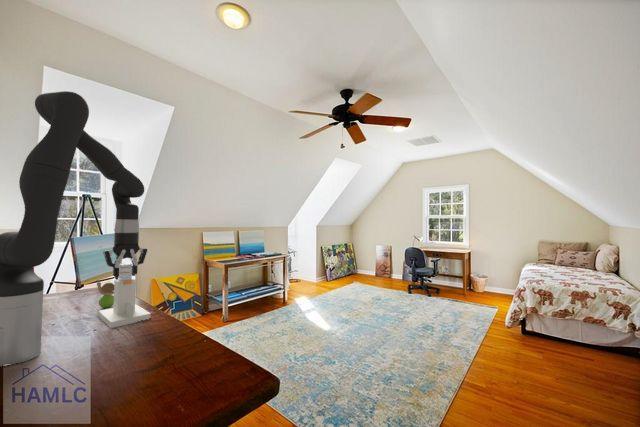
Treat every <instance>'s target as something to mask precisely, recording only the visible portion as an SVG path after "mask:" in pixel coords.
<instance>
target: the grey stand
mask: <svg viewBox="0 0 640 427" xmlns="http://www.w3.org/2000/svg"><path fill="white" fill-rule="evenodd" d="M113 284H114V291H113V292H114V293H113V296H114V305H113V307H109V308H103V309H100V310H97V317H98V318H99V319H101V320H102V321H103V322H104V323H105V324H106V325H107V326H108V327H109V328H110V329H114V328H117V327H121V326H125V325H130V324H134V323H139V322H142V321H141V320H143V321H146V320H145V319H147V320H150V319H149V318H151V317H152V316H151V314H152V313H151V312H149V311H148V310H146V309H144V308H142V307H141V306H140V305H138V304H136V287H137V279H135V278H133V277H132V280H128V281H119V278H117V279H114V283H113ZM138 321H139V322H138Z"/></svg>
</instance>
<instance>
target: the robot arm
mask: <svg viewBox="0 0 640 427" xmlns="http://www.w3.org/2000/svg"><path fill="white" fill-rule="evenodd" d="M34 107H35V109H36V111H37V113H38V115H39V116H40V117H41V118H42V119H43V120H44V121H45V122H46V123H47V124H49V125H50V127H49V129H48V131H47V133H46V134H45V135H44V137H43V138H42V139H41V140H40V141H39V142H38V143H37V144H36V145H35V147H33V149H31V151H30V152H29V154H28V155H27V156H26V158H25V161H24V164H23V165H22V170H21V172H20V176H19V180H18V182H19V184H18V186H19V191H20V193H21V197H22V200H23V205H24V214H23V219H22V221H21V225H20V228H19V231H7V232H3V233H2V232H1V233H0V366H2V365H5V364H14V365H16V364H15V363H18V364H21V362H22V363H25V362H28V361H29V360H32V359H34V358H36V357H38V356H39V355H40V354H41V353H42V352H41V350H42V332H43V329H42V328H43V309H44V308H43V307H44V306H43V304H44V286H45V282H44V279H43V278H41V277H40V276H38V274H36V272H35V271H34V268H35V267H38V266H41V265H43V264H45V262H46V261H48V259H49V258H50V257H51V255H52V253H53V251H54V248H55V247H54V246H55V241H56V234H57V226H58V225H57V224H58V219H59V215H60V214H59V213H60V210H61V206H62V202H63V201H62V200H63V196H64V194H65V190H66V188H67V184H68V180H69V176H70V173H71V170H72V168H71V167H72V164H73V161H74V157H75V154H76V152H77V151H76V150H77V149H78V150H79V151H80V152H81V153H82V154H83V155H84V156H85V157H86V158H87V159H88V160H89V161H90V162H91V163H92V165H94V167H95V168H96V169H97V170H98V172H99V173H101V174H102V175H103V177H104V178H105V179H107V180H109V181H114V183H113V184H112V187H111V194H112V199H113V201H114V205H115V209H116V210H115V223H114V229H113V230H114V243H113V247H112V248H111V249H107V250H105V249H104V250H103V252H102V253H103V256H104V259H105V263H106V266H107V267H109V268H112V269H113V270H112V275H113V277H115V279H119V265H120V264H121V262H122V261H123V259H124V260H125V259H129V260H130V261H131V264H132V277H135V276H136V275H137V274H138V266H139V265H142V264H144V262H145V259H146V256H147V253H148V249H147V248H144V247H140V246H139V238H140V237H139V236H140V223H139V222H140V221H139V216H140V215H139V212H140V210H139V206H138V205H137V204H134V203H132V201H131V198H135V199H136V198H140V197H142V196H143V195H144V193H145V186H144V184H143V182H142V181H141V179H139V178H138V176H137V175H135V174H134V173H132V172H131V171H130V170H128V168H126V167H125V166H124V164H123V163H122V162H121V161H120V160H119V158H118V157H117V156H116V154H114V152H113V151H112V150H110V149H109V148H108V147H107V146H105V145H104V144H103V143H101V142H100V141H98V140H97V139H95V137H93V136H91V135H90V134H89V133H88V132H87V131H85V127H86V125H87V122H88V120H89V115H90V109H89V105H88V103H87V101H86V99H84V97H83V96H82V95H80V94H79V93H78V92H74V91H67V90H66V91H65V90H64V91H63V90H62V91H52V92H45V93H42V94H39V95H37V96H36V98H35V100H34ZM138 252H139V257H138V259H137V256H136V255H137V253H138ZM113 253H114V254H115V258H114V259H115V260H114V262H113V260H112V257H111V256H112V255H113Z"/></svg>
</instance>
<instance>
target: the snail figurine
mask: <svg viewBox="0 0 640 427" xmlns="http://www.w3.org/2000/svg"><path fill="white" fill-rule="evenodd" d="M99 280H100V279H96V282H97V283H96V287H97V290H98V292H99V294H101V295H102V296H100V298H99V300H98V305H99V306H100V308H103V309H109V308H112V307H114V283H113V282H106V283H104V284H103V285H102V282H101V281H99Z"/></svg>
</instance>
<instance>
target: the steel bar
mask: <svg viewBox="0 0 640 427" xmlns="http://www.w3.org/2000/svg"><path fill="white" fill-rule="evenodd" d="M132 266H133V264H132V262H126V263H120V265H119V267H118V268H119V278H118V279H119V281H128V280H132V278H133V276H132Z"/></svg>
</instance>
